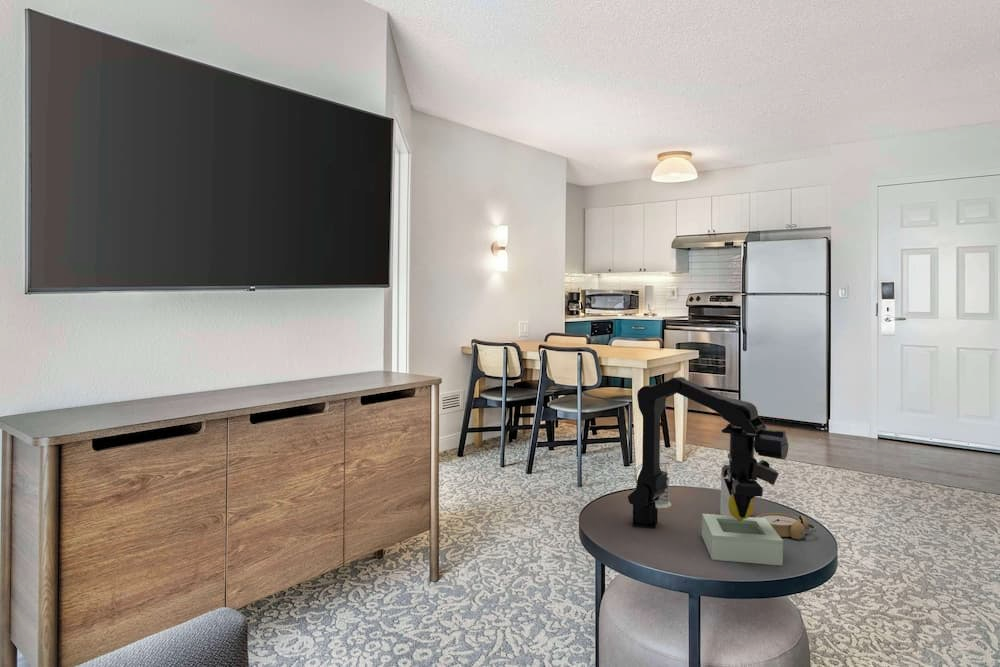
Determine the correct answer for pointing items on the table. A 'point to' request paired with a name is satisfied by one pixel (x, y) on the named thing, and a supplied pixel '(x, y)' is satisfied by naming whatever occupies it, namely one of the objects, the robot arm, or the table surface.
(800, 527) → the alarm clock
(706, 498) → the table surface
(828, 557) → the table surface
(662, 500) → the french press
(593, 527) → the table surface
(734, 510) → the lemon
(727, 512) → the small box
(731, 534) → the pale green square tray
